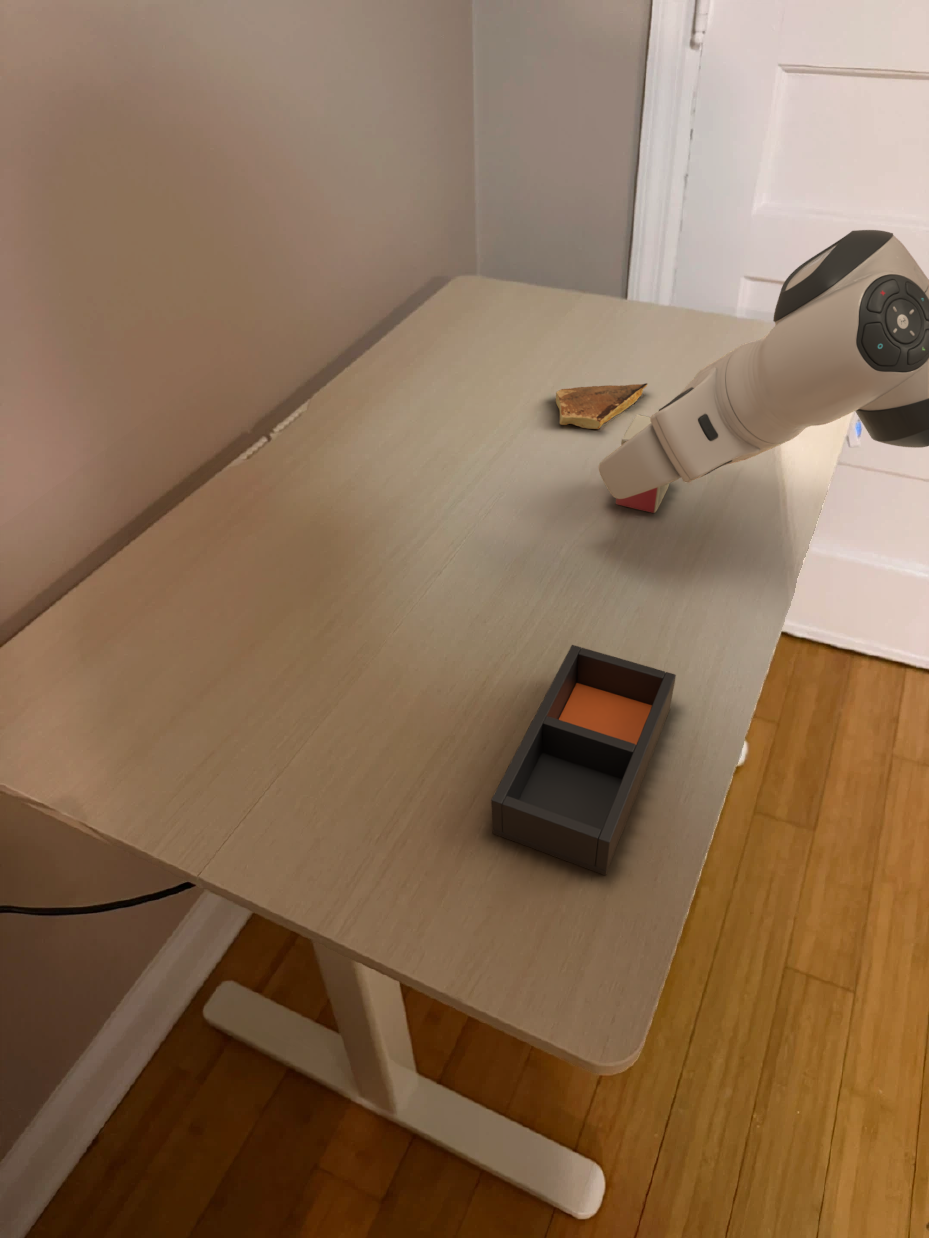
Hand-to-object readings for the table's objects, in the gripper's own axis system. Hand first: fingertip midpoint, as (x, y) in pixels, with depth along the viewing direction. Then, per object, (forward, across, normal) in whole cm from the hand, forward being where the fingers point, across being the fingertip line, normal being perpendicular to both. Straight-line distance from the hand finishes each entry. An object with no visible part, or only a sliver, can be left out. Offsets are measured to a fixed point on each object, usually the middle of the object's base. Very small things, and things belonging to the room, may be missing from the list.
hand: (641, 457), depth 88 cm
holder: (-11, +29, +17) cm, 36 cm away
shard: (+14, -10, -7) cm, 18 cm away
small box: (+3, 0, +4) cm, 5 cm away
